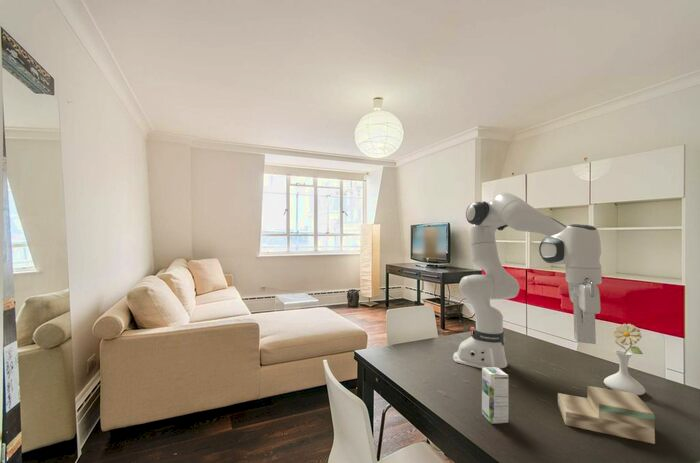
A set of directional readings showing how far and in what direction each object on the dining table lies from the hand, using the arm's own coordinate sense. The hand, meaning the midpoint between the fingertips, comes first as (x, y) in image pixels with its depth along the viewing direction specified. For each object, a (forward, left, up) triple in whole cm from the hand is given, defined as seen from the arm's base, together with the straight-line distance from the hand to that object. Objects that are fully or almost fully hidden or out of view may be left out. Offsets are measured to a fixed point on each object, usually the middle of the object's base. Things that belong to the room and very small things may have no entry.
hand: (584, 322), depth 94 cm
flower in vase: (+18, +28, -30) cm, 45 cm away
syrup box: (-25, -10, -30) cm, 40 cm away
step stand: (+4, +1, -30) cm, 30 cm away
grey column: (0, 0, -6) cm, 6 cm away
